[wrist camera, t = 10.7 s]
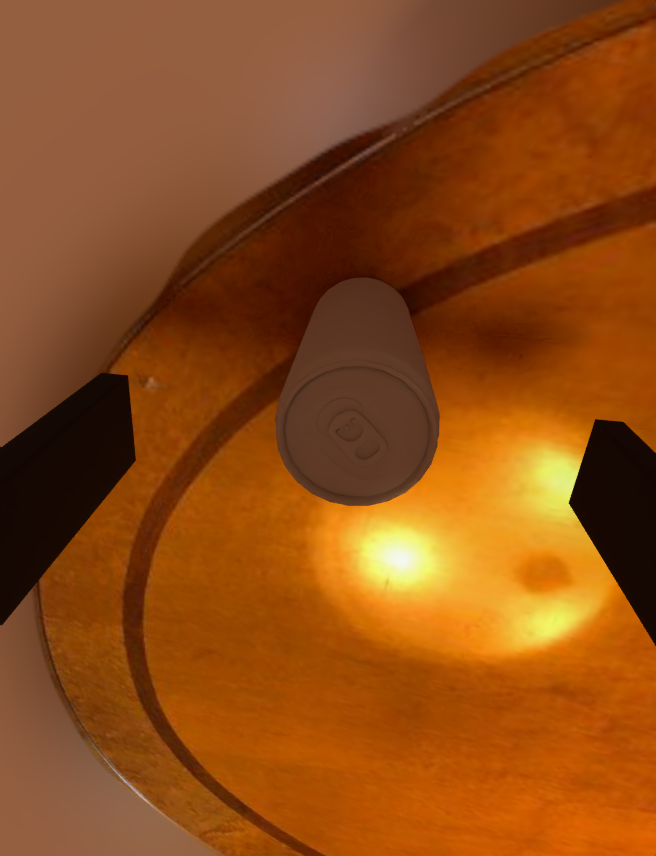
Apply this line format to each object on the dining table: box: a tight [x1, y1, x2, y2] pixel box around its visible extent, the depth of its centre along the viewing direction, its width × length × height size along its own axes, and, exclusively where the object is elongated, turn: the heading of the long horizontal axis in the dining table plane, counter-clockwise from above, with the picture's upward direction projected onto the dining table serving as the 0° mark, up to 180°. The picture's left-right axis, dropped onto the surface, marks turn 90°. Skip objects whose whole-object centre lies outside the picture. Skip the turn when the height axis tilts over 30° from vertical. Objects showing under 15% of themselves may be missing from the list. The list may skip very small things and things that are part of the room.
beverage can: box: [275, 277, 440, 506], centre depth 20 cm, size 5×5×12 cm
